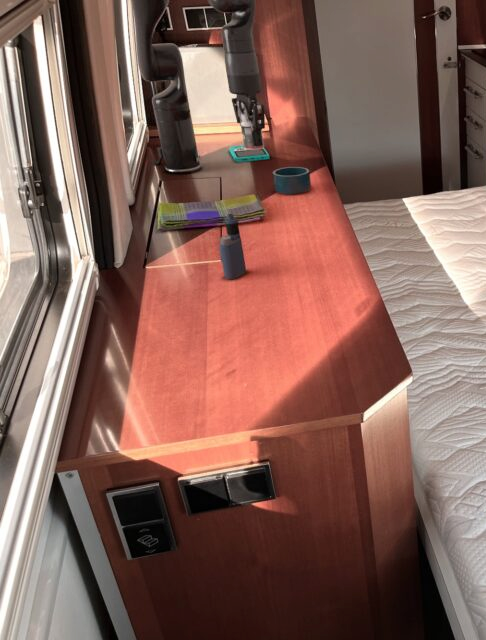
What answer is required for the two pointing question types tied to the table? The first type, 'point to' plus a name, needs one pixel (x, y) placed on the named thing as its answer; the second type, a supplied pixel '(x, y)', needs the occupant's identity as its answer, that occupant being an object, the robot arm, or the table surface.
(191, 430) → the table surface
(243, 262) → the vaping device
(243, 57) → the robot arm
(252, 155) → the handheld game console
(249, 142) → the pill bottle
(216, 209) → the dish towel
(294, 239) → the table surface
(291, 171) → the bowl
